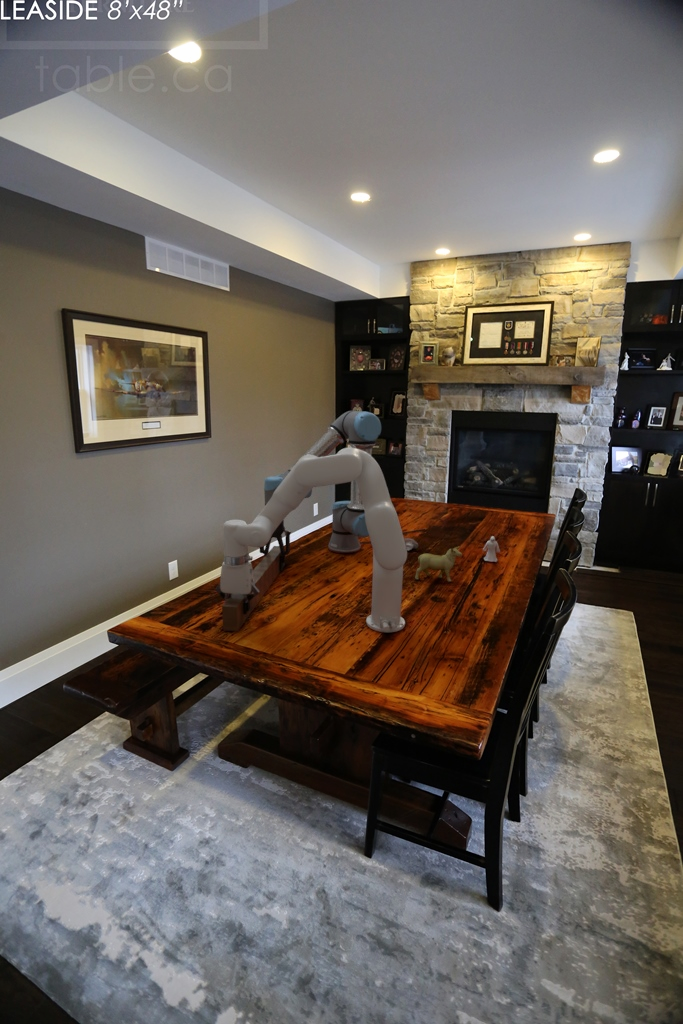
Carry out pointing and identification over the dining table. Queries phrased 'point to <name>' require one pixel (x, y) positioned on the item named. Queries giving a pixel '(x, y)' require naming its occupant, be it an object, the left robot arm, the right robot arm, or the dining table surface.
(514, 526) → the dining table surface
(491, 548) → the figurine
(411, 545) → the seashell
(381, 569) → the right robot arm
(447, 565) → the toy
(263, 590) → the bar
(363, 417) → the left robot arm
